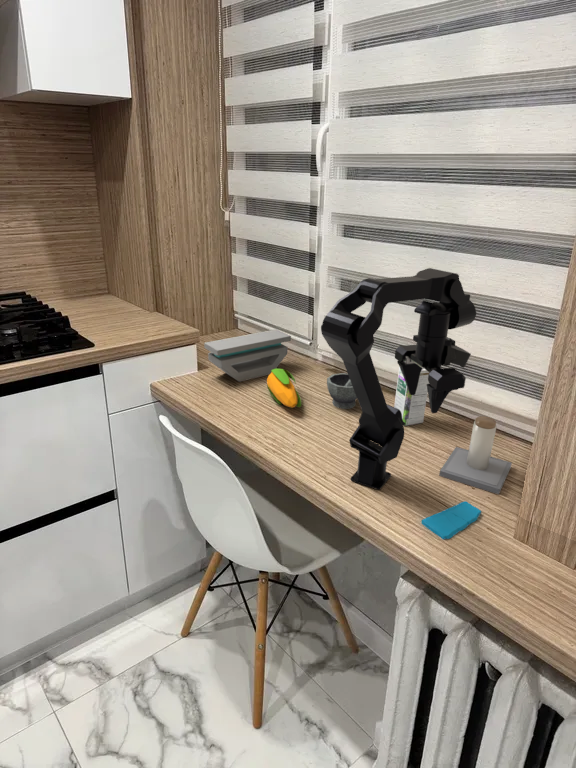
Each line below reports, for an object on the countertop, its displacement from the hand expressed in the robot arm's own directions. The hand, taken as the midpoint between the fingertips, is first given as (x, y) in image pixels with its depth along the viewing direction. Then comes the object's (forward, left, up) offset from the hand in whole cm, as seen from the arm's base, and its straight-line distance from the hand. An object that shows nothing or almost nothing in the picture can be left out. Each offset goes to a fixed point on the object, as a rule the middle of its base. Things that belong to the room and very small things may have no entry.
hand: (422, 403), depth 112 cm
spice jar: (+2, -13, -12) cm, 17 cm away
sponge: (-18, -14, -14) cm, 27 cm away
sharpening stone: (+18, +59, -13) cm, 63 cm away
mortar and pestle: (+15, +25, -13) cm, 32 cm away
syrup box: (+16, +8, -13) cm, 22 cm away
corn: (+8, +39, -13) cm, 43 cm away
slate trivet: (+1, -13, -13) cm, 18 cm away
